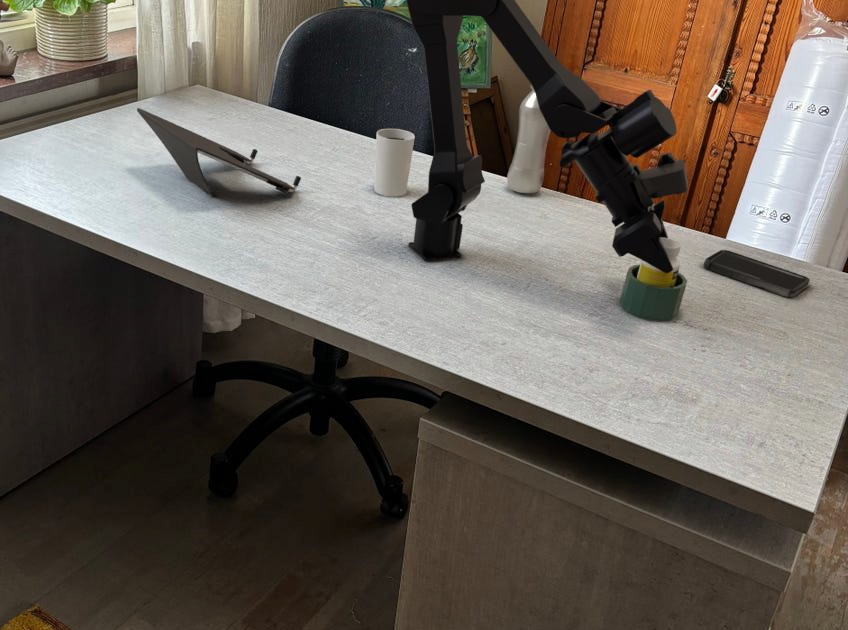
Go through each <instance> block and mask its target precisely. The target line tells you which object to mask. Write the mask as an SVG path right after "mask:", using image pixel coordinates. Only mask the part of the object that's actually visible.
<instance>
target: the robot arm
mask: <svg viewBox="0 0 848 630" xmlns="http://www.w3.org/2000/svg"><path fill="white" fill-rule="evenodd" d="M405 2H406V7H407V10H408V14H409V17H410V22H411V26H412V28H413V30H414V32H415V34H416V35H417V37H418V40H419V41H420V43H421V45H422V47H423V54H424V62H425V71H426V82H427V91H428V100H429V109H430V118H431V119H430V120H431V128H432V139H433V148H434V152H433V156H432V160H431V163H430V167H429V171H428V184H427V192H426V193H425V194H423V195H421V196H420V197H419V198H418V199H415V201H413V202H412V203H411V211H412V216H413V218H414V219H415V227H414V235H413V241H410V242H408V244H407V246H408V247H409V248H410V249H411V250H412V251H413V252H415V253H416V254H417V255H418V256H419V257H420V258H422V260H424V261H425V262H431V261H432V262H433V261H441V260H451V259H458V258H459V259H460V258H462V257H463V256H462V255H463V254H462V253H461V251H459V250H460V248H461V241H462V236H463V235H462V234H463V227H464V225H463V223H462V218H463V215H461V214H460V213H461V212H463V211H466V208H467V206H468V204H471V203H472V202H474V201H475V200H476V199H477V197H478V196H479V195H480V194H481V191H482V184H484V183H485V182H486V180H485V177H484V175H483V157H482V155H481V154H479V155H475V156H474V155H473V153H472V152H471V150H470V149H469V147H468V144H467V143H468V142H467V134H466V124H465V123H466V122H465V113H464V104H463V102H464V101H463V91H462V80H461V70H460V69H461V68H460V60H459V59H460V58H459V49H458V47H459V46H458V39H459V36H460V32H461V28H462V24H463V20H464V16H465V17H466V16H467V17H468V16H469V17H470V16H471V17H472V16H473V17H480V18H482V19H483V20H484V22H485V23H486V25H487V26H488V27H489V29H490V30H491V32H492V33H493V34H494V35H495V37H496V38H497V40H498V41H499V43H500V44H501V45H502V47H503V48H504V49H505V51H506V52H507V54H508V55H509V56H510V58H511V59H512V61H513V62H514V63H515V64H516V66H517V67H518V68H519V70H520V71H521V73H522V74H523V75H524V77H525V78H526V80H527V81H528V82H529V84H530V86H531V85H532V87H533V89H534V91H535V93H536V97H537V101H538V106H539V109H540V111H541V113H542V115H543V117H544V119H545V121H546V123H547V125H548V127H549V129H550V130H551V131H550V133H552V134H553V135H554V136H556V137H557V138H561V139H572V138H573V139H574V138H576V137H577V136H579V135H581V134H587V135H585V136H584V137H582V138H581V139H578V140H577V141H576V142H571V141H565V142H564V144H563V145H562V147H561V155H560V156H561V157H560V161H559V163H558V167H559V168H560V169H562V168H565V167H566V166H568V165H569V164H571V163H572V162H575V164H576V165H577V166H578V167H579V169H580V170H581V172H582V173H583V175H584V176H585V178H586V180H587V181H588V182H589V184H590V185H591V187H592V188H593V190H594V191H595V196H594V198H595V200H596V201H597V202H598V203H599V204H601V202H602V203H603V205H604V206H605V208H606V209H607V210H608V212H609V213H610V215H611V216H612V217H611V223H612V225H613V226H614V227H615V231H614V235H613V239H612V243H611V246H612V248H613V250H614V251H615V253H616V254H617V256H618V257H619V258H621V257H624V256H626V255H627V254H629V255H631V256H633V257H635V258H637V259H639V260H643V261H645V262H647V263H648V264H650V265H652V266H654V267H655V268H657V269H659V270H661V271H662V272H664V273H666V274H667V273H669V272H671V271H673V267H672V264H671V262H670V259H669V257H668V255H667V252H666V250H665V248H664V245H663V243H662V241H661V238H660V237H664V238H669V236H668V233H667V230H666V227H665V224H664V220H663V214H664V211H665V205H666V200H665V199H662V198H663V197H667V196H671V195H681V194H684V193H687V192H688V190H689V180H688V176H687V170H686V163H685V161H684V160H682V158H679V159H678V160H677V159H676V157H675V156H674V154H673V153H672V152H666V153H662V154H660V155H659V157H658V161H657V164H656V166H655V165H652V166H650V167H651V168H649V169H645V170H642V169H641V168H640V166H639V165H638V164H635V163H634V162H633V163H631V162H630V161H629V159H628V156H631V157H632V158H635V159H639V157H642V156H644V155H645V154H646V153H648V152H650V151H651V150H653V149H654V148H656V147H658V146H659V145H661V144H663V143H664V142H666V141H668V140H670V139H671V138H672V137H674V136H676V135H677V123H676V120H675V118H674V115H673V114H672V112H671V109H670V107H668V106H666V104H664V102H663V101H662V100H661V99H659V97H657V96H655V94H654V92H653V91H652V90H651V89H647V90H645V91H644V92H642V93H641V94H639V95H638V96H636V97H635V98H634V100H633V101H631V102H630V103H629V104H627V105H625V106H624V107H622V108H621V107H618V106H616V105H613V104H611V103H609V102H606V101H604V100H601V99H600V97H599V95H598V93H596V91H594V89H593V88H591V86H589V85H588V84H587V83H586V82H585V81H584V80H583V78H581V77H579V76H578V75H576V74H575V73H574V72H572V71H571V70H569V69H567V68H566V66H564V64H562V63H561V62H560V61H559V59H558V57H557V56H556V54H555V53H553V51H552V50H551V48H550V46H549V45H548V44H547V43H546V41H545V39H543V37H542V35H540V33H539V32H538V30H537V29H536V27H535V26H534V25H533V23H532V22H531V21H530V19H529V18H528V17H527V15H526V14H525V12H524V11H523V9H522V8H521V7H520V6H519V4H518V3H517V1H516V0H406V1H405ZM606 126H609V128H607V129H606V130H604V131H603V132H600V133H599V134H597V132H599V131H600V130H602V129H603V128H605V127H606ZM654 199H662V200H660V201H659V202H657V203H655V201H654Z"/></svg>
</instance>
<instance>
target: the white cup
mask: <svg viewBox="0 0 848 630" xmlns="http://www.w3.org/2000/svg"><path fill="white" fill-rule="evenodd" d="M375 136H376V139H375V161H374V184H373V185H374V187H373V190H374V192H375V193H377V194H378V195H381V196H384V197H385V196H386V197H392V198H393V197H395V198H396V197H403V196H405V195H406V194H407V189H408V184H409V183H408V182H409V177H410V171H411V163H412V157H413V152H414V151H413V150H414V145H415V144H414V143H415V139H416V138H415V134H414V133H413V132H411V131H407V130H404V129H399V128H382V129H378V130H377V131H376V135H375Z"/></svg>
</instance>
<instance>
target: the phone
mask: <svg viewBox="0 0 848 630" xmlns="http://www.w3.org/2000/svg"><path fill="white" fill-rule="evenodd" d="M703 263H704V264H703V268H704V269H707V270H709V271H712V272H714V273H718V274H720V275H723V276H726V277H729V278H732V279H734V280H738V281H740V282H743V283H745V284H748V285H751V286H754V287H756V288H760V289H762V290H765V291H769V292H771V293H774V294H777V295H779V296H783V297H787V298H794V297H796V296H797V295H799V294H800V293H801V292H803V291H804V290H805V289H807V288H808V286H809V283H810V280H811V279H810V278H809V277H807V276H805V275H801V274H799V273H796V272H794V271H790V270H787V269H784V268H781V267H779V266H777V265H776V266H775V265H774V264H770V263H767V262H764V261H761V260H758V259H755V258H752V257H749V256H746V255H743V254H740V253H737V252H734V251H731V250H727V249H720V250H718V251H717V252H715V253H713V254H712V255H709V256H708V257H706V258H705V259H704V262H703Z"/></svg>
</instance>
